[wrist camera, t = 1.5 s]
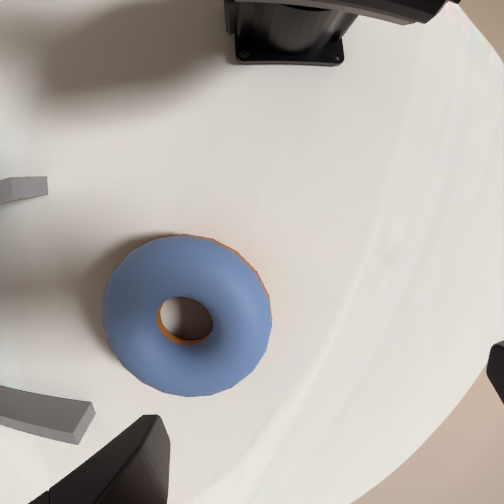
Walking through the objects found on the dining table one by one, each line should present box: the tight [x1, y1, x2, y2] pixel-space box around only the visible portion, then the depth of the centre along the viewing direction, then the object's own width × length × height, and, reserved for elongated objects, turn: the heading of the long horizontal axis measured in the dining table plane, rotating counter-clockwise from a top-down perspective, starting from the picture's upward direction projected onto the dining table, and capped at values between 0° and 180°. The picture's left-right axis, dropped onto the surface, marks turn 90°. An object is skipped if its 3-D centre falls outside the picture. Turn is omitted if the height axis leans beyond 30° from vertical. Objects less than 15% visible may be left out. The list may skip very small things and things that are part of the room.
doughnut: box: [102, 234, 272, 397], centre depth 18 cm, size 10×10×5 cm
